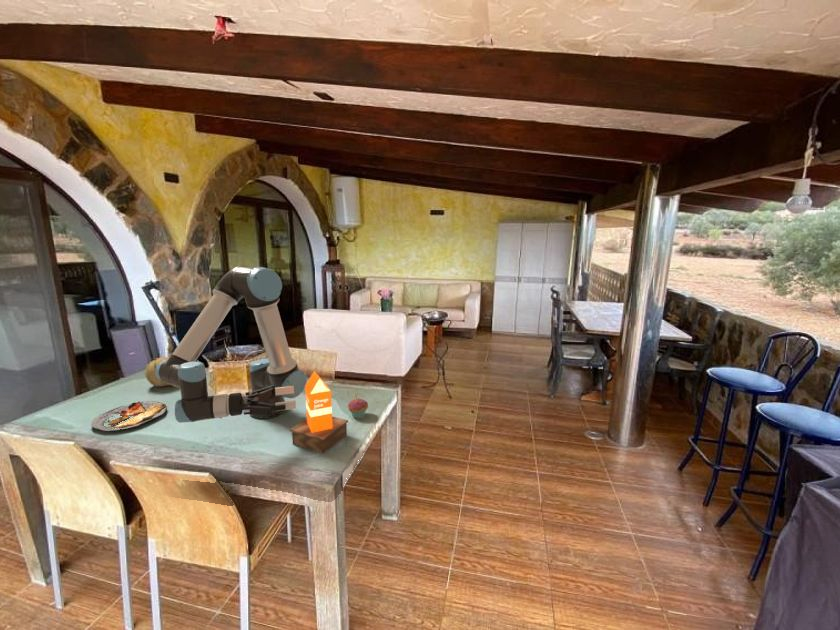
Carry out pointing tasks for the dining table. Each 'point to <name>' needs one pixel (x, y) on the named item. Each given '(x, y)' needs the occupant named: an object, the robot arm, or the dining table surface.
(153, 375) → the cantaloupe
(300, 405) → the dining table surface
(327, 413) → the orange juice
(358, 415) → the cupcake
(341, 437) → the walnut riser
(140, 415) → the food plate
